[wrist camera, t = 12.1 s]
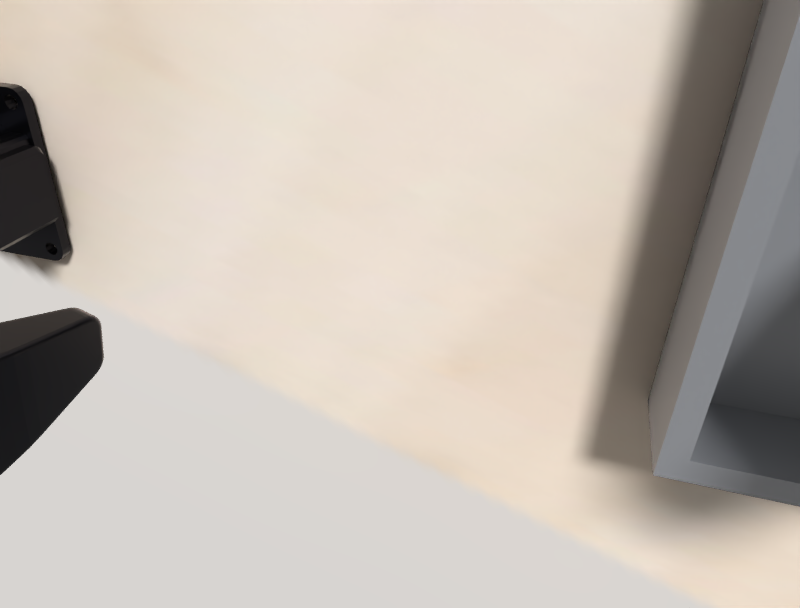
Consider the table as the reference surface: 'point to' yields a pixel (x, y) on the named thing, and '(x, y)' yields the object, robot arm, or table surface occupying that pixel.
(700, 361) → the bin
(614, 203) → the table surface
